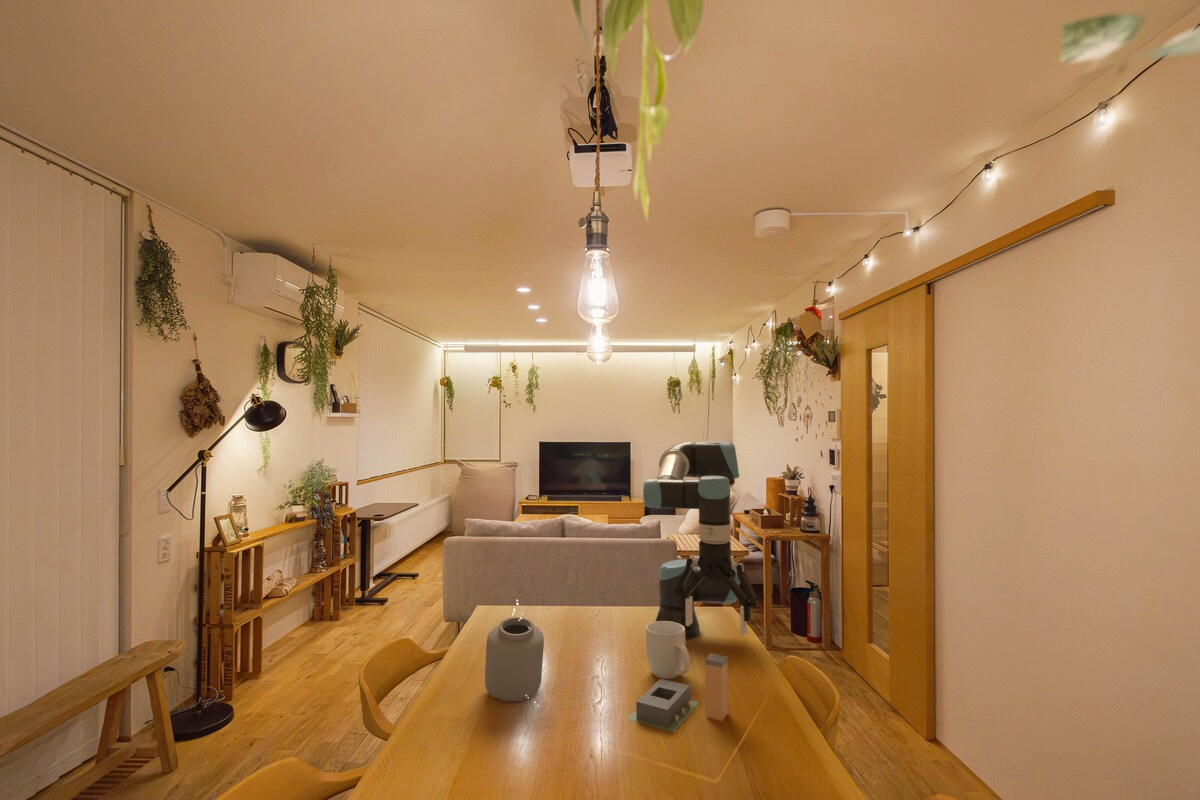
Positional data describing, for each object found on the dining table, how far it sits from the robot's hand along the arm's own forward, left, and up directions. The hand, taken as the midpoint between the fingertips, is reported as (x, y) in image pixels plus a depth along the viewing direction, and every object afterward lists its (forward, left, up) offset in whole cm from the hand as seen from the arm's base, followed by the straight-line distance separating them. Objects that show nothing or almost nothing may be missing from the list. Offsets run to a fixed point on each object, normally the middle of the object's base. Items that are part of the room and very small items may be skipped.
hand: (715, 629), depth 139 cm
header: (+4, -12, -21) cm, 24 cm away
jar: (+15, -49, -21) cm, 55 cm away
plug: (0, 0, -21) cm, 21 cm away
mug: (-15, -19, -21) cm, 32 cm away
